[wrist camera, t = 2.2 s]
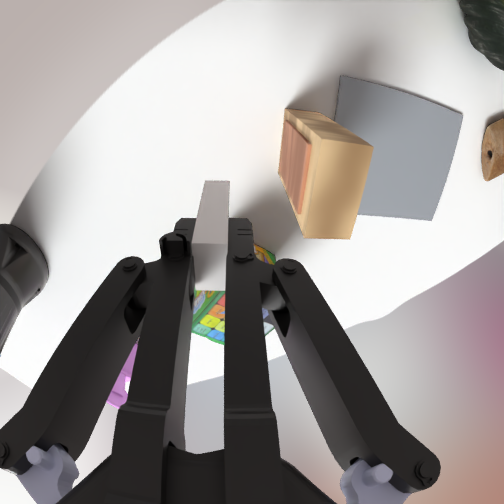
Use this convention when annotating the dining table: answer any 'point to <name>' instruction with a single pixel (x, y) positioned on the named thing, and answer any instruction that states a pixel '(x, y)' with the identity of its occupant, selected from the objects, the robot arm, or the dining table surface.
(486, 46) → the squash
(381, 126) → the mat
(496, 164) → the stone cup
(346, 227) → the oak slab
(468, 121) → the dining table surface
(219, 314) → the chalk box
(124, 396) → the toy chair
